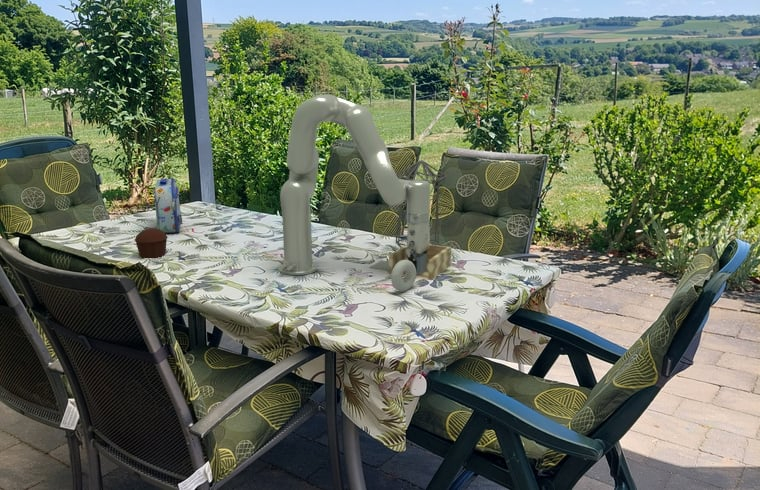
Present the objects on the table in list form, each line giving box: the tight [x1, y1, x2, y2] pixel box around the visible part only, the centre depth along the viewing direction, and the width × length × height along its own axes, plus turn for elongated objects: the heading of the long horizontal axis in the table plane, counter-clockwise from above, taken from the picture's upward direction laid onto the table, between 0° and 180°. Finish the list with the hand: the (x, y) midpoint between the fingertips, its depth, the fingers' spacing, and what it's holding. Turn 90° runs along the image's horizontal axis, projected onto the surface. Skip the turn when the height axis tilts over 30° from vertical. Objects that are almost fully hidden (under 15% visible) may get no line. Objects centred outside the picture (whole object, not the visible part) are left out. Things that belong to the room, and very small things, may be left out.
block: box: [413, 253, 427, 275], centre depth 224 cm, size 5×5×6 cm
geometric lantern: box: [394, 160, 448, 249], centre depth 243 cm, size 16×16×35 cm
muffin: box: [134, 227, 169, 259], centre depth 244 cm, size 12×11×10 cm
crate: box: [388, 244, 452, 281], centre depth 227 cm, size 19×15×7 cm
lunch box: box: [154, 178, 183, 234], centre depth 282 cm, size 28×10×22 cm, turn 17°
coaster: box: [369, 260, 389, 271], centre depth 231 cm, size 9×9×1 cm
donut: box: [390, 260, 417, 292], centre depth 206 cm, size 10×4×10 cm, turn 135°
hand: (417, 267), depth 224 cm, fingers open, 9 cm apart
